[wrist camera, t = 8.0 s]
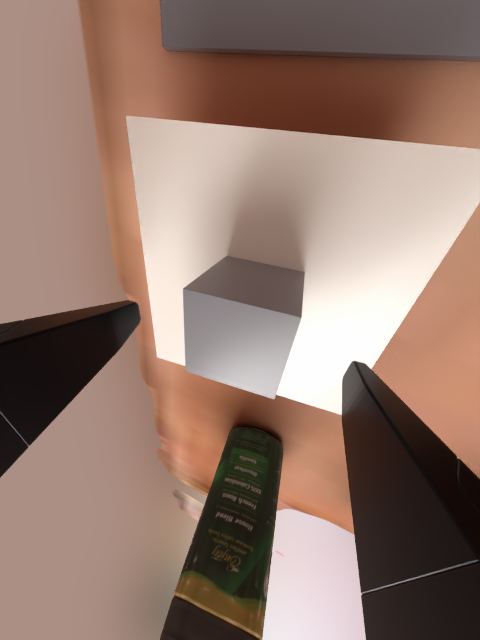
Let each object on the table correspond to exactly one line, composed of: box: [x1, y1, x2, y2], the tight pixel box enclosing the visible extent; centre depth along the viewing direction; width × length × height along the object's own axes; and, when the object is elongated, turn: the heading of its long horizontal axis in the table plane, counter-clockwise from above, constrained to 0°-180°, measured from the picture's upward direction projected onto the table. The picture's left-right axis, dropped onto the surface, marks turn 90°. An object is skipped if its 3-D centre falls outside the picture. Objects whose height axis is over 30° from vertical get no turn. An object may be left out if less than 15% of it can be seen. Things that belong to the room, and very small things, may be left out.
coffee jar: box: [160, 427, 283, 640], centre depth 22 cm, size 10×8×19 cm
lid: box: [126, 116, 480, 415], centre depth 10 cm, size 14×14×6 cm
